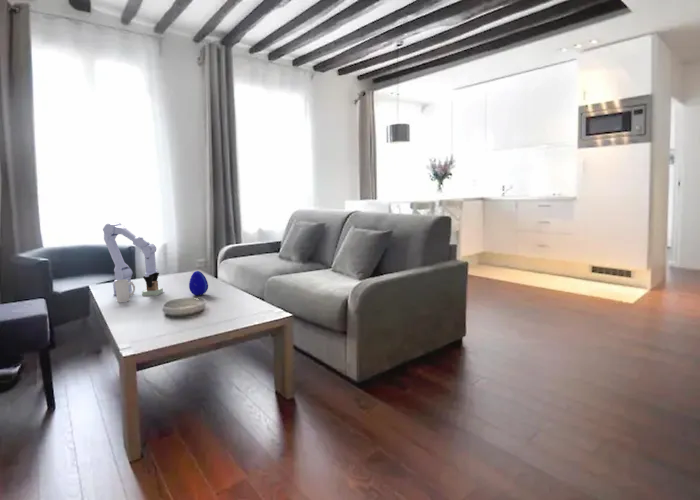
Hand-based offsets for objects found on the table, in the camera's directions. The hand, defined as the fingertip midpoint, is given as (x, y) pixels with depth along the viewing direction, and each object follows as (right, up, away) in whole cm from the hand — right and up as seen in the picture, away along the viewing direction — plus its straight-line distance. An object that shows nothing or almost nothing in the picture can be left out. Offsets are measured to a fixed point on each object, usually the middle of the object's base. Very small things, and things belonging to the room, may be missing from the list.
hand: (152, 285), depth 263 cm
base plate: (0, -5, +1) cm, 5 cm away
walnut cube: (0, -2, 0) cm, 2 cm away
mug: (-8, -8, -14) cm, 18 cm away
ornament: (+30, -6, -4) cm, 31 cm away
